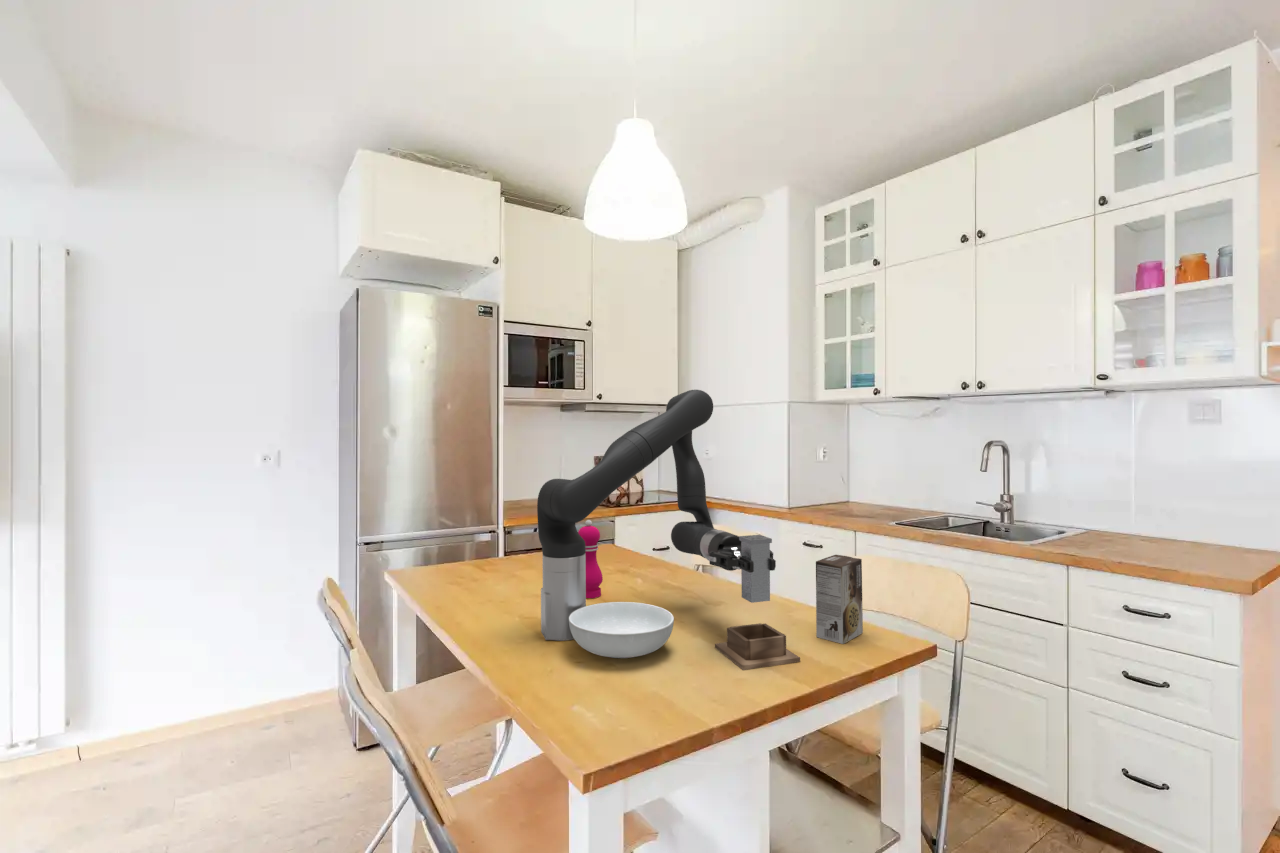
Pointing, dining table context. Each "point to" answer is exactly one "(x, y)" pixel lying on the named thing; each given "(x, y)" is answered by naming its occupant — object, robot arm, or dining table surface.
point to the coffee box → (839, 598)
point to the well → (756, 647)
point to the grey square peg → (756, 568)
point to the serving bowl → (621, 628)
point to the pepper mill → (591, 560)
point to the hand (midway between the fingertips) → (762, 566)
